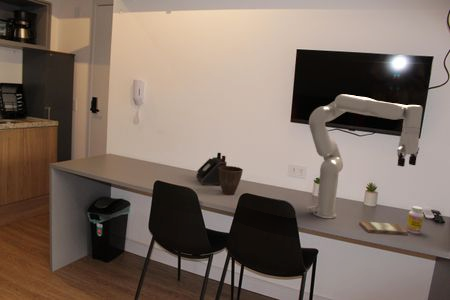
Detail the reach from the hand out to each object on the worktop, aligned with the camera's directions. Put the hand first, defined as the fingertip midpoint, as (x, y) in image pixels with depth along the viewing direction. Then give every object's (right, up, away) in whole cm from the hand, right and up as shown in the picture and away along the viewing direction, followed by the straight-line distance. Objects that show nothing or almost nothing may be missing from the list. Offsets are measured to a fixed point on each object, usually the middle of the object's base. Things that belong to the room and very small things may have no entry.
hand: (406, 165), depth 179 cm
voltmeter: (-99, -15, +71) cm, 123 cm away
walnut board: (-9, -33, +7) cm, 35 cm away
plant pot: (-87, -20, +49) cm, 102 cm away
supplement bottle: (+7, -34, +8) cm, 36 cm away
